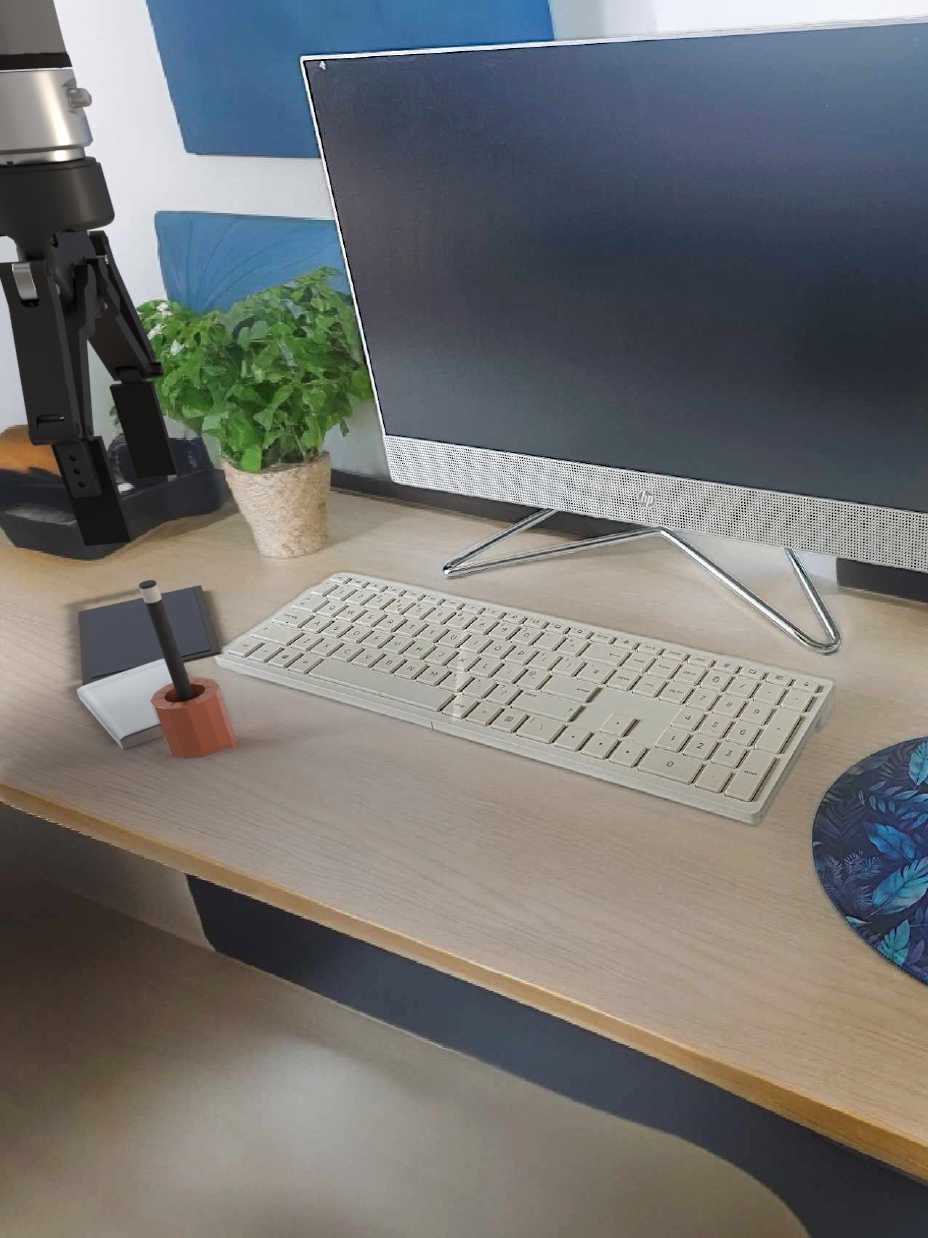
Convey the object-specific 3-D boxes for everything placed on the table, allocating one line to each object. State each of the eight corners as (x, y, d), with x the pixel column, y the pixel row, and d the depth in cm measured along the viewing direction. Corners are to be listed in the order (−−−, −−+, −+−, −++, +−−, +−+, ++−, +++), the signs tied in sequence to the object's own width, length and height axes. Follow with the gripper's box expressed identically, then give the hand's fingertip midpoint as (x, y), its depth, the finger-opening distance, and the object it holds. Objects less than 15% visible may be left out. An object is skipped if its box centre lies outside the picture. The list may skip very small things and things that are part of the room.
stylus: (195, 755, 97) (136, 587, 89) (198, 747, 98) (140, 580, 90) (210, 753, 97) (153, 585, 89) (214, 746, 98) (157, 578, 90)
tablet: (222, 657, 113) (220, 650, 113) (84, 691, 109) (81, 683, 108) (202, 590, 127) (200, 583, 127) (79, 617, 123) (77, 610, 122)
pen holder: (167, 776, 96) (143, 711, 92) (182, 744, 100) (160, 681, 97) (231, 768, 96) (210, 704, 93) (243, 736, 100) (223, 674, 97)
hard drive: (217, 702, 102) (167, 655, 111) (118, 738, 98) (74, 686, 106) (222, 719, 103) (172, 670, 111) (125, 755, 99) (80, 702, 107)
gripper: (28, 173, 59) (152, 569, 70) (144, 138, 81) (226, 447, 91) (-136, 182, 58) (16, 583, 69) (26, 144, 79) (122, 456, 90)
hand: (135, 506), depth 80 cm, fingers open, 13 cm apart
